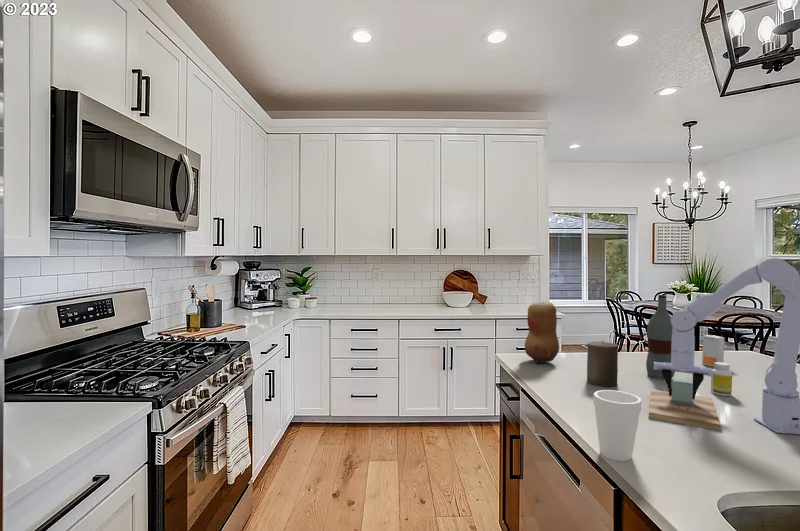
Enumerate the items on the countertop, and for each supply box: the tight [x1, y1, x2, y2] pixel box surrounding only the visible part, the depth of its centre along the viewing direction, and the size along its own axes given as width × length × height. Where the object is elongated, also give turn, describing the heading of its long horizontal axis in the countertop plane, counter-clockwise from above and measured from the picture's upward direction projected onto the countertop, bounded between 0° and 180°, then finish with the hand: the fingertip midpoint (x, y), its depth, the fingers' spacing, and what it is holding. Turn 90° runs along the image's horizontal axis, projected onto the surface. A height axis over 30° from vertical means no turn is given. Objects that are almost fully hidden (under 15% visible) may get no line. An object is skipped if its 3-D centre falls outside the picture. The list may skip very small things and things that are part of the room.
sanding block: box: [671, 376, 693, 406], centre depth 128 cm, size 7×5×6 cm
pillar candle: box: [586, 339, 619, 388], centre depth 151 cm, size 10×10×15 cm
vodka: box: [645, 294, 676, 380], centre depth 160 cm, size 9×9×30 cm
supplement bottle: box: [710, 362, 733, 397], centre depth 140 cm, size 5×5×10 cm
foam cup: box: [593, 389, 642, 462], centre depth 97 cm, size 10×9×13 cm
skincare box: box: [701, 334, 725, 368], centre depth 176 cm, size 6×4×12 cm
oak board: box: [648, 388, 722, 432], centre depth 125 cm, size 24×16×2 cm, turn 149°
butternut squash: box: [524, 301, 560, 364], centre depth 179 cm, size 14×13×25 cm
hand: (681, 396), depth 128 cm, fingers closed on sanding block, 5 cm apart
